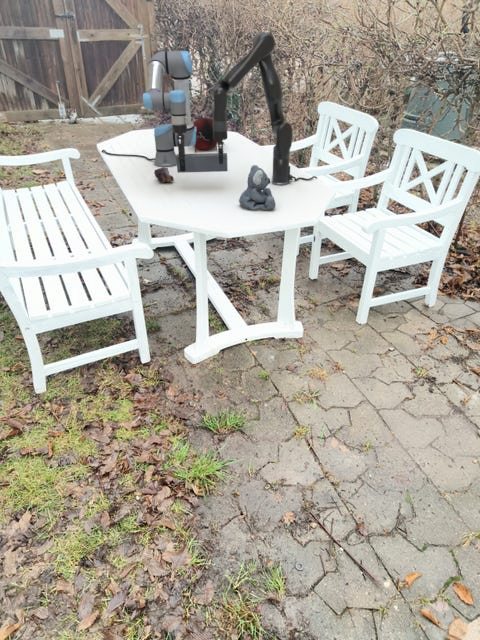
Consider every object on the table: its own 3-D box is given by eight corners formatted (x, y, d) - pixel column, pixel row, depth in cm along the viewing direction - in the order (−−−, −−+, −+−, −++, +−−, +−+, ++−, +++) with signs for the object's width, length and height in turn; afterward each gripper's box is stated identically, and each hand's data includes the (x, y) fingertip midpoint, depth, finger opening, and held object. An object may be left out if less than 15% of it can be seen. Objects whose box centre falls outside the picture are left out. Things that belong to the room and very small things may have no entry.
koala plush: (276, 211, 223) (277, 171, 212) (240, 212, 222) (240, 172, 211) (271, 199, 237) (272, 161, 226) (237, 200, 236) (237, 162, 225)
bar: (177, 172, 243) (176, 156, 239) (178, 170, 247) (176, 154, 242) (227, 171, 244) (227, 155, 239) (227, 169, 248) (226, 152, 243)
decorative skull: (188, 123, 330) (185, 120, 306) (219, 116, 329) (218, 112, 306) (194, 153, 337) (192, 152, 313) (225, 146, 336) (225, 145, 313)
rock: (168, 180, 269) (152, 182, 265) (166, 165, 265) (150, 167, 261) (175, 182, 260) (159, 184, 256) (174, 166, 256) (157, 168, 252)
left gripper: (185, 127, 225) (189, 174, 238) (187, 120, 239) (190, 165, 252) (170, 127, 224) (175, 174, 238) (173, 120, 239) (177, 165, 252)
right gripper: (227, 132, 228) (228, 165, 237) (226, 126, 240) (227, 158, 249) (212, 132, 228) (214, 165, 237) (212, 126, 240) (214, 158, 249)
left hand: (183, 169), depth 245 cm, fingers closed on bar, 4 cm apart
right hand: (221, 161), depth 243 cm, fingers open, 7 cm apart
